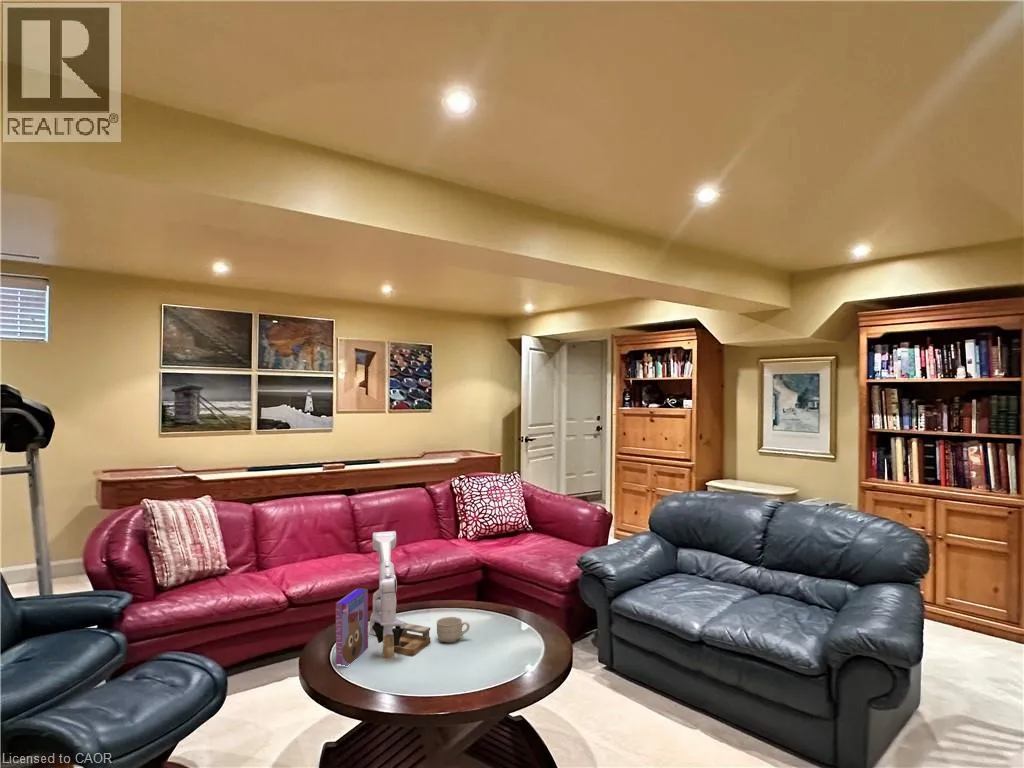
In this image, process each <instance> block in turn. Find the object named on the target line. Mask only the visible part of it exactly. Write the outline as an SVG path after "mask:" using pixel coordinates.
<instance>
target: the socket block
mask: <svg viewBox="0 0 1024 768" xmlns="http://www.w3.org/2000/svg"><path fill="white" fill-rule="evenodd" d="M430 631H431V627H430V626H425V625H418V624H413V623H408V622H405V628H404V630H403V632H402V634H401V637H400V641H399V645H397V646H394V654H399V655H404V656H408V657H414V656H416V655H417V654H418V653H420V652H421V651H422V650H424V649H425V648H426V647H428V646H429V645H430V644H431V636H430ZM409 632H412V633H409ZM420 634H422V635H420Z"/></svg>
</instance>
